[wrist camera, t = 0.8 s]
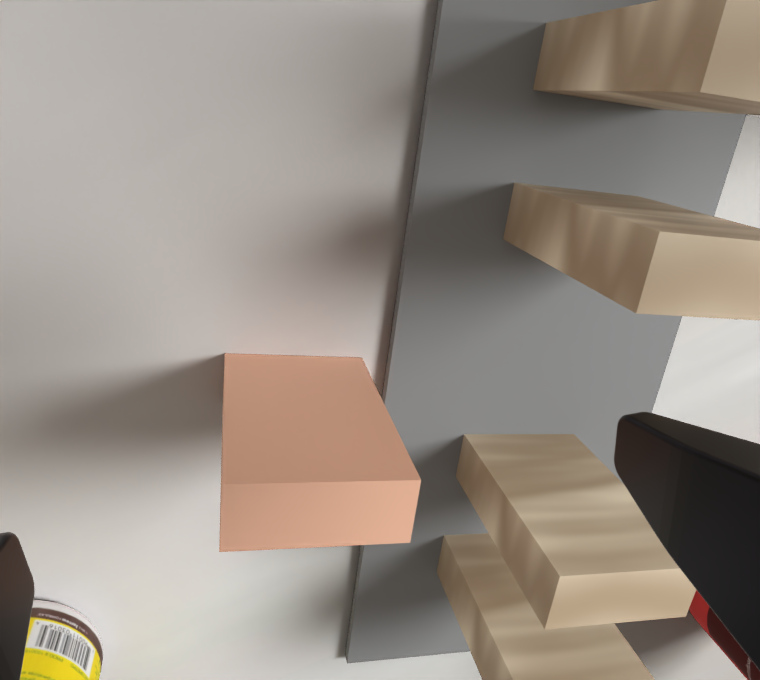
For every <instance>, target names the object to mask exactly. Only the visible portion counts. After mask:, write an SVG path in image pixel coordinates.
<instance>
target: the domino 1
mask: <svg viewBox="0 0 760 680" xmlns="http://www.w3.org/2000/svg"><path fill="white" fill-rule="evenodd" d="M420 484H421V479H420V476H419V474H418V472H417V470H416V468H415V466H414V464H413V462H412V460H411V458H410V456H409V454H408V452H407V450H406V448H405V446H404V444H403V442H402V439H401V437H400V435H399V433H398V431H397V429H396V427H395V425H394V423H393V421H392V419H391V417H390V415H389V413H388V411H387V409H386V407H385V405H384V403H383V400H382V398H381V396H380V394H379V392H378V390H377V388H376V386H375V384H374V382H373V380H372V378H371V376H370V374H369V372H368V370H367V368H366V366H365V363H364V361H363V359H362V358H359V357H326V356H293V355H261V354H228V353H225V360H224V384H223V412H222V457H221V502H220V548H219V552H228V551H249V550H270V549H291V548H311V547H332V546H353V545H374V544H394V543H410V541H411V535H412V530H413V524H414V518H415V513H416V507H417V501H418V496H419V490H420Z"/></svg>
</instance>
